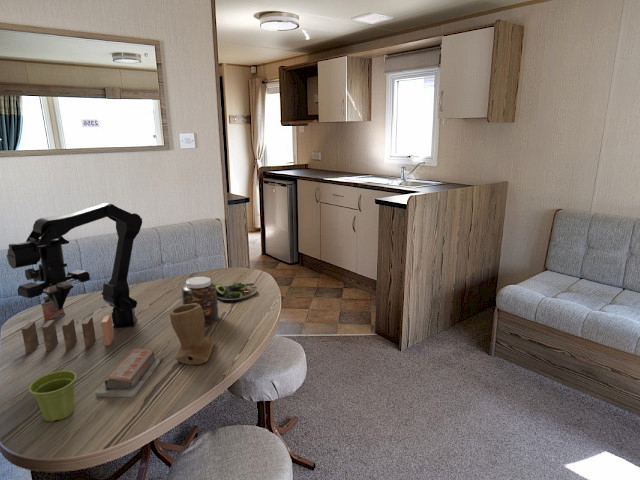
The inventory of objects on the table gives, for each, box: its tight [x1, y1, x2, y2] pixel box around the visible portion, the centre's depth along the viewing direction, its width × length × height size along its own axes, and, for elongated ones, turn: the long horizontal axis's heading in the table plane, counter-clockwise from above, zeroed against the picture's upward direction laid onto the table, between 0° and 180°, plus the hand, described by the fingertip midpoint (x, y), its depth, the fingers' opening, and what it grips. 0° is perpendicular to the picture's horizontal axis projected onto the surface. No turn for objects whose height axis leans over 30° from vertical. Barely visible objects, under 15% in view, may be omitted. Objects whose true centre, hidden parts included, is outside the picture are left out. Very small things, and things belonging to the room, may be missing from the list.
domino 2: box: [41, 320, 59, 352], centre depth 130 cm, size 2×5×8 cm, turn 12°
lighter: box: [40, 294, 66, 324], centre depth 150 cm, size 8×3×10 cm, turn 168°
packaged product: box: [94, 347, 163, 398], centre depth 114 cm, size 18×5×10 cm
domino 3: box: [61, 317, 78, 350], centre depth 131 cm, size 2×5×8 cm, turn 12°
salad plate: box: [215, 282, 258, 303], centre depth 174 cm, size 19×18×5 cm
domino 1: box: [21, 321, 40, 354], centre depth 129 cm, size 2×5×8 cm, turn 12°
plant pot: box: [28, 370, 77, 422], centre depth 98 cm, size 9×9×9 cm
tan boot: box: [169, 303, 215, 366], centre depth 124 cm, size 15×12×15 cm
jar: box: [181, 276, 219, 327], centre depth 147 cm, size 12×12×15 cm
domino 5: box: [101, 314, 115, 346], centre depth 133 cm, size 2×5×8 cm, turn 13°
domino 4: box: [81, 316, 97, 348], centre depth 132 cm, size 2×5×8 cm, turn 12°
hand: (59, 309), depth 128 cm, fingers closed
